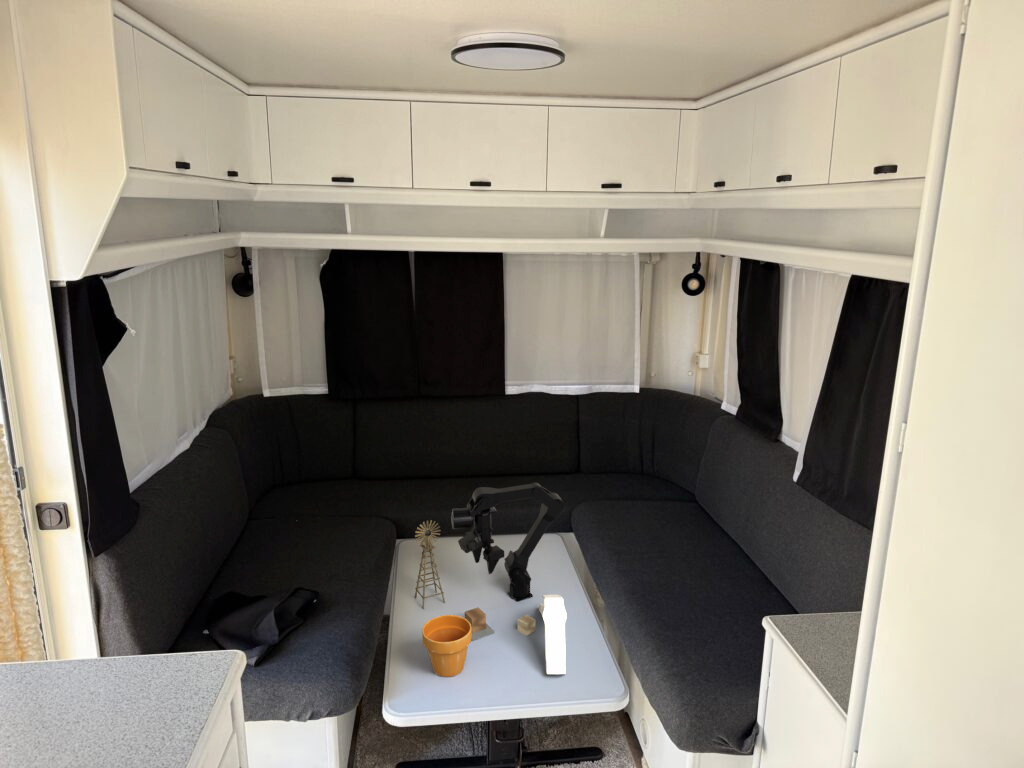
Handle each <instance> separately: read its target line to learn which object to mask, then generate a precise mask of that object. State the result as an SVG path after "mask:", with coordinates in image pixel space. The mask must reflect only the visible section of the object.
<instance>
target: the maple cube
mask: <svg viewBox="0 0 1024 768" xmlns="http://www.w3.org/2000/svg"><path fill="white" fill-rule="evenodd" d="M516 621H517V622H516V623H517V632H519V633H521V634H522V635H525V636H526V637H527V636H529V635H530V634H532V633H534V632H535V631H536V619H535V618H533V617H532V616H530V615H528V614H524V615H523V616H521V617H519V618H518V619H517V620H516Z"/></svg>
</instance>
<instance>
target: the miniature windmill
mask: <svg viewBox="0 0 1024 768" xmlns="http://www.w3.org/2000/svg"><path fill="white" fill-rule="evenodd" d="M435 523H436V521H435V520H434V521H433V520H432V519H431V520H430V521H429V520H426V523H425V521H423V522H422V524H421V523H420V524H419V527H418V526H417V528H416V530H415V531H414V532H415V535H414V537H415V540H416V541H417V544H420V545H419V547H421V548H422V551H421V559H420V563H419V570H418V574H417V581H416V587H415V591H414V592H415V593H414V599H417V597H418V594H419V595H420V598H421V599H422V608H421V609H422V610H424V609H425V599H428V598H432V597H436V596H439V595H441V597H442V601H443V604H445V603H446V599H445V597H444V594H445V592H443V588H442V584H441V579H440V578H441V577H440V576H439V572H438V569H437V567H438V565H437V563H436V560H435V557H434V556H435V554H434V552H433V550H434V549H436V546H435V545H434V543H436V542H437V540H438V539H439V538H440V537H439V536H440V535H441V533H438V532H441V531H442V530H441V529H440V528H441V526H440V525H439V523H438V522H437V523H436V524H435ZM436 539H437V540H436ZM427 553H429V554H427ZM427 558H429V559H430V561H428V562H427ZM423 561H424V562H423ZM429 564H430V565H431V566H429V567H427V566H426V565H429ZM434 569H435V570H434ZM426 570H431V571H430V572H427V573H426ZM422 571H423V574H422ZM431 574H432V577H429V578H426V576H427V575H431ZM422 577H423V578H422ZM436 577H437V578H436ZM436 581H437V582H438V584H439V585H438V584H437V582H436ZM421 582H422V583H423V584H422V586H419V585H420V583H421ZM430 582H432V583H430ZM426 583H430V584H426ZM432 585H434V592H435V593H434V594H431V595H428V596H425V594H426V593H425V592H426V587H429V586H432ZM437 588H438V589H437ZM419 589H422V593H420V591H419ZM438 590H440V592H438Z"/></svg>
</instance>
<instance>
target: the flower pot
mask: <svg viewBox="0 0 1024 768" xmlns="http://www.w3.org/2000/svg"><path fill="white" fill-rule="evenodd" d="M421 635H422V644H423V647H425V649H426V650H427V652H428V656H429V659H430V662H431V666H432V669H433V671H434V673H435V674H436V675H437V676H439V677H444V678H451V677H455V676H457V675H459V674H461V673H462V671H463V670H464V667H465V663H466V660H467V659H466V657H467V654H468V646H469V645H470V644H471V642H472V641H471V638H472V627H471V624H470V622H469V621H468V620H467V619H465V617H463V616H461V615H460V616H459V615H455V614H445V615H439V616H435V617H433V618H431V619H429V620H428V621H426V622H425V624H424V625H423V626H422V629H421Z"/></svg>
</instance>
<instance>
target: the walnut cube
mask: <svg viewBox="0 0 1024 768" xmlns="http://www.w3.org/2000/svg"><path fill="white" fill-rule="evenodd" d="M464 618H465V619H467V620H468V621H469V622H470V624H471V627H472V633H475V632H478V631H481V630H484V629H486V623H487V614H486V613H485V612H484V611H483V610H482V609H481V608H480V607H479V606H478V607H476V608H472V609H469V610H466V611H464Z"/></svg>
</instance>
